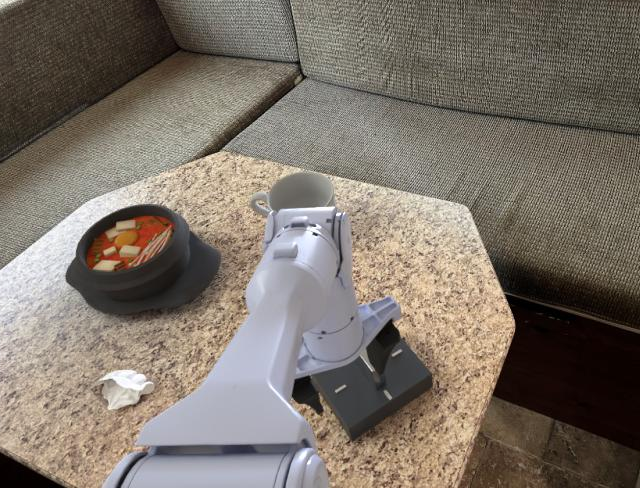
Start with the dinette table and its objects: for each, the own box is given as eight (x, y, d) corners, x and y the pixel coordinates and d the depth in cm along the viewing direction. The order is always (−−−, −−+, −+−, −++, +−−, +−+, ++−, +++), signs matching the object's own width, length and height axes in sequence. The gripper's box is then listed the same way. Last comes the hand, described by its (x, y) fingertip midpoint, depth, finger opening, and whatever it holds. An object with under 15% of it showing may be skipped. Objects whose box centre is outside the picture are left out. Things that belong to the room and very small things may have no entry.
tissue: (115, 365, 83) (104, 348, 80) (159, 385, 80) (149, 368, 77) (84, 399, 79) (71, 383, 77) (129, 422, 76) (117, 406, 74)
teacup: (350, 211, 103) (343, 174, 98) (327, 257, 95) (318, 220, 90) (275, 201, 106) (265, 165, 101) (247, 244, 99) (235, 208, 93)
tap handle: (386, 383, 74) (383, 363, 71) (375, 390, 73) (371, 370, 71) (363, 352, 78) (359, 332, 75) (352, 358, 77) (348, 338, 74)
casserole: (245, 245, 98) (232, 207, 93) (181, 338, 85) (162, 300, 80) (119, 222, 106) (100, 185, 100) (42, 304, 92) (15, 267, 87)
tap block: (352, 441, 72) (348, 428, 70) (312, 381, 78) (308, 368, 76) (433, 386, 76) (432, 372, 74) (389, 334, 83) (387, 320, 81)
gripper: (369, 248, 62) (383, 327, 71) (239, 320, 57) (271, 396, 65) (409, 291, 58) (418, 370, 66) (271, 373, 52) (301, 448, 61)
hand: (347, 386), depth 66 cm, fingers open, 7 cm apart
